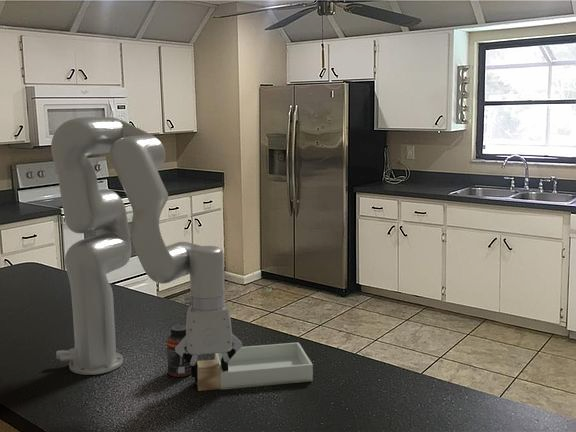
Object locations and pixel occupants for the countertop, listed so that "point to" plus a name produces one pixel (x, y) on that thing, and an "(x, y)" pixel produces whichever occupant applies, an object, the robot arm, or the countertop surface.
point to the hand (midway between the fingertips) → (209, 377)
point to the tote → (266, 366)
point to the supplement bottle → (175, 361)
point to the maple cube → (208, 375)
